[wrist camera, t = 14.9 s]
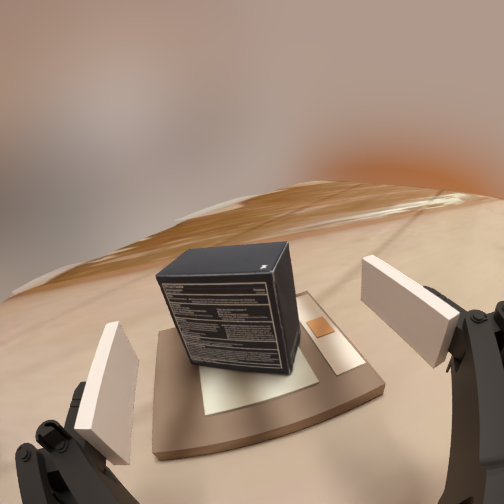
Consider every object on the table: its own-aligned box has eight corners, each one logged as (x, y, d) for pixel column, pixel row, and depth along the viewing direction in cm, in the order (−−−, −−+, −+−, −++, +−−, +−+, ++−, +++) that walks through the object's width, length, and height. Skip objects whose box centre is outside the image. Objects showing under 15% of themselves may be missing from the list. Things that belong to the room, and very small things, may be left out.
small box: (303, 330, 28) (291, 237, 24) (292, 377, 22) (275, 273, 18) (213, 327, 31) (187, 245, 28) (188, 365, 26) (151, 275, 22)
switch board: (160, 460, 17) (150, 451, 16) (163, 340, 33) (158, 329, 33) (383, 393, 20) (386, 380, 19) (308, 300, 36) (306, 288, 35)
